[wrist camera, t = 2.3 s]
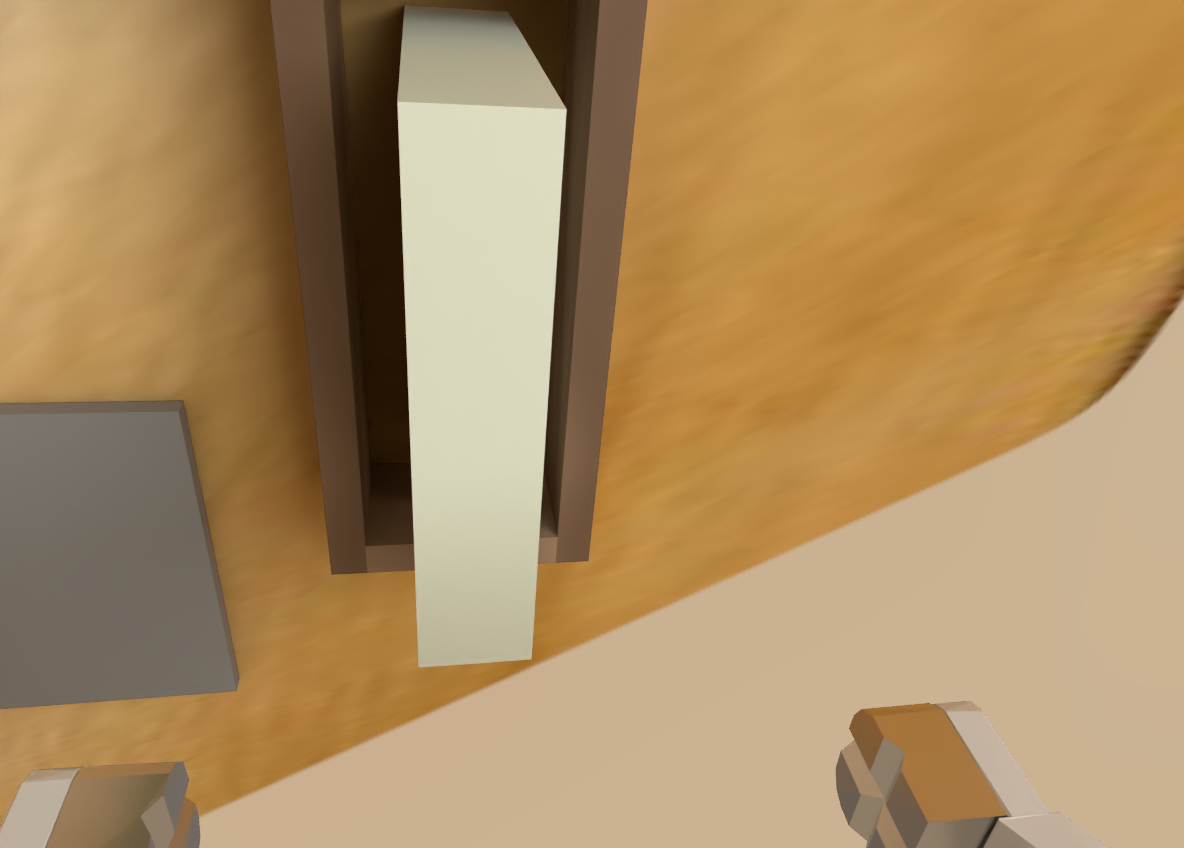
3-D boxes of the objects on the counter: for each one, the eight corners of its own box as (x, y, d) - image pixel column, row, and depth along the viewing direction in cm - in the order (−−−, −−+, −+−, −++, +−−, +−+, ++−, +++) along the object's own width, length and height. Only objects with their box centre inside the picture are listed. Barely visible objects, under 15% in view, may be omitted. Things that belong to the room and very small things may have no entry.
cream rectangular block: (418, 422, 27) (418, 667, 19) (404, 4, 21) (397, 101, 13) (497, 420, 28) (531, 659, 19) (508, 11, 21) (566, 108, 13)
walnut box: (341, 490, 28) (331, 574, 25) (284, -128, 19) (256, -125, 16) (568, 482, 29) (588, 561, 26) (617, -98, 20) (656, -88, 17)
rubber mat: (-131, 705, 30) (-140, 719, 29) (-295, 408, 23) (-310, 420, 23) (239, 678, 32) (236, 691, 31) (183, 400, 25) (178, 411, 25)
